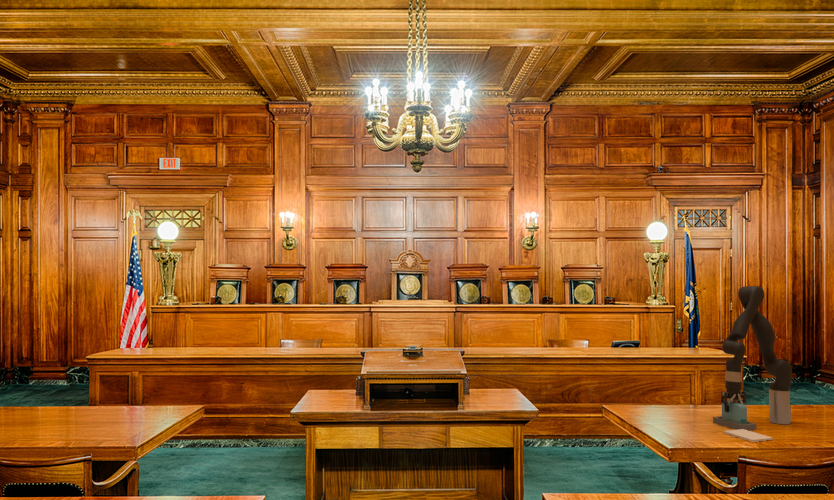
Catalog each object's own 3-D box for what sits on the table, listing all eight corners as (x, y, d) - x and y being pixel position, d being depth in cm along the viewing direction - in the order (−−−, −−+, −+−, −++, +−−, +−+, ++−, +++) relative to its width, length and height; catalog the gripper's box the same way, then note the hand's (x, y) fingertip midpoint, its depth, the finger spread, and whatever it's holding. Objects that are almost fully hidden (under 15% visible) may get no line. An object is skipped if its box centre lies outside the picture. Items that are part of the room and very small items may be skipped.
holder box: (727, 421, 302) (727, 415, 302) (756, 429, 286) (756, 423, 286) (713, 422, 298) (713, 417, 299) (741, 431, 282) (741, 425, 283)
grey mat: (743, 431, 282) (743, 429, 282) (773, 440, 267) (773, 437, 267) (723, 433, 278) (723, 430, 278) (752, 442, 263) (752, 439, 263)
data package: (747, 429, 287) (747, 405, 287) (739, 429, 286) (739, 405, 286) (728, 423, 299) (728, 400, 299) (721, 423, 297) (721, 400, 298)
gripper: (737, 378, 299) (737, 409, 299) (716, 379, 295) (716, 410, 294) (750, 380, 292) (750, 412, 291) (729, 381, 287) (729, 414, 287)
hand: (733, 411), depth 293 cm, fingers open, 8 cm apart
